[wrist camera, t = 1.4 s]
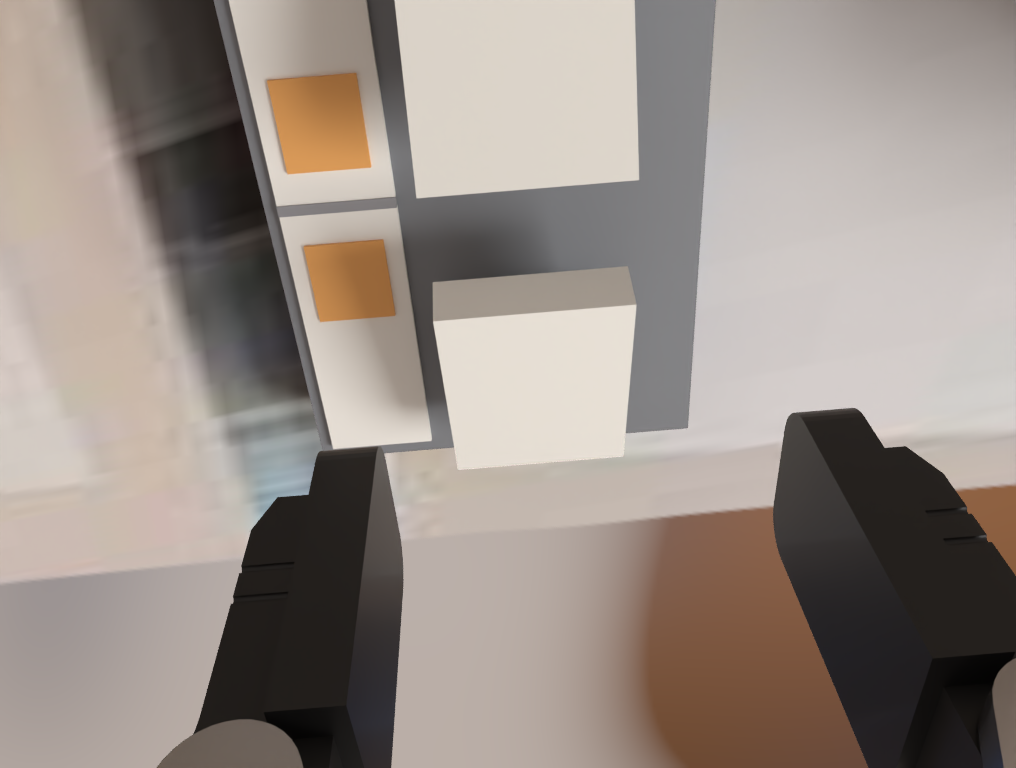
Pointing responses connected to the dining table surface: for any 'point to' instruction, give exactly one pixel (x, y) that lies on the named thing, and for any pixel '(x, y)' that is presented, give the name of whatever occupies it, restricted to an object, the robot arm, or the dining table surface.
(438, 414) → the switch unit
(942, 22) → the dining table surface
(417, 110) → the rocker middle
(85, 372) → the dining table surface
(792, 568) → the robot arm
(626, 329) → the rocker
